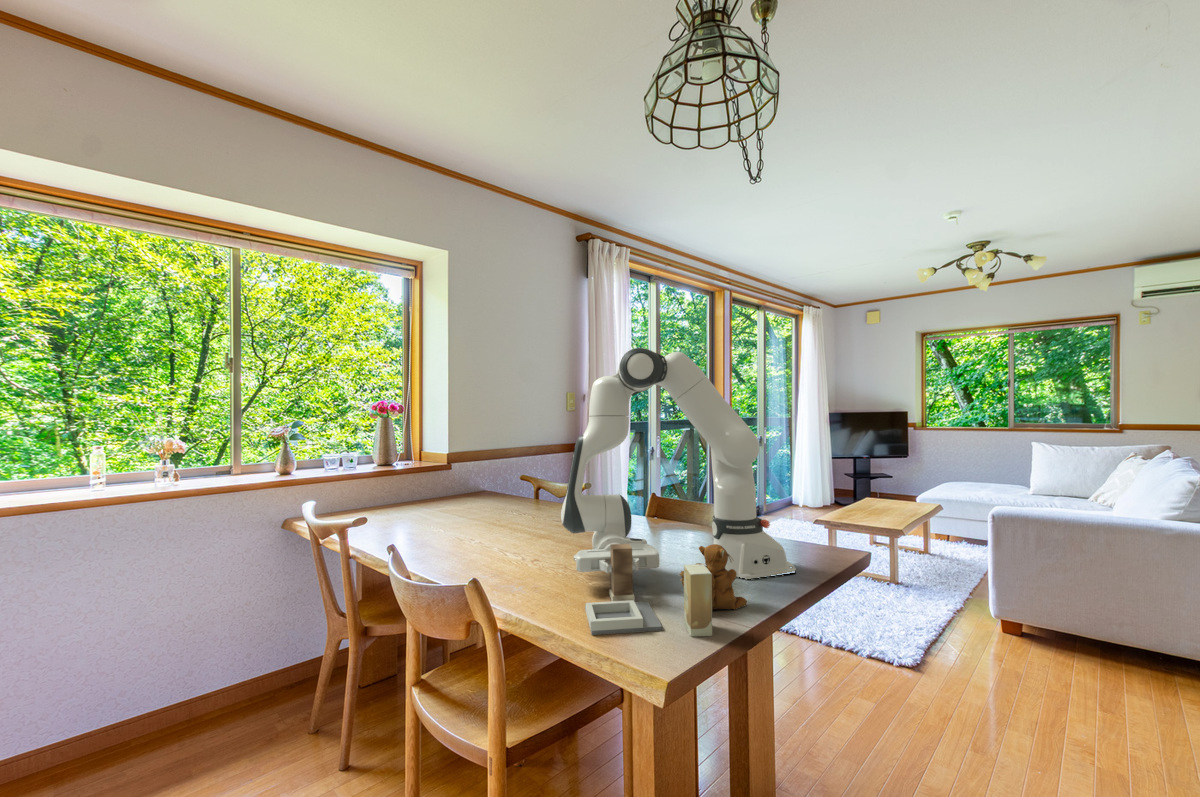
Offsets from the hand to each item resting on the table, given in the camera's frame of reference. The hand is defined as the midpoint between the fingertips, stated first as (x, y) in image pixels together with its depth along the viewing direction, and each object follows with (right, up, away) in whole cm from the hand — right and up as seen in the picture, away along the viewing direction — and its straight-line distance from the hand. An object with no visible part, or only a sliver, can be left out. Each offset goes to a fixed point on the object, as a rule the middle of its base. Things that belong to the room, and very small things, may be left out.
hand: (622, 569), depth 125 cm
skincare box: (+14, -7, -18) cm, 24 cm away
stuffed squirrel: (+20, -7, -5) cm, 21 cm away
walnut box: (0, -7, +1) cm, 7 cm away
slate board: (-1, -7, -11) cm, 13 cm away
